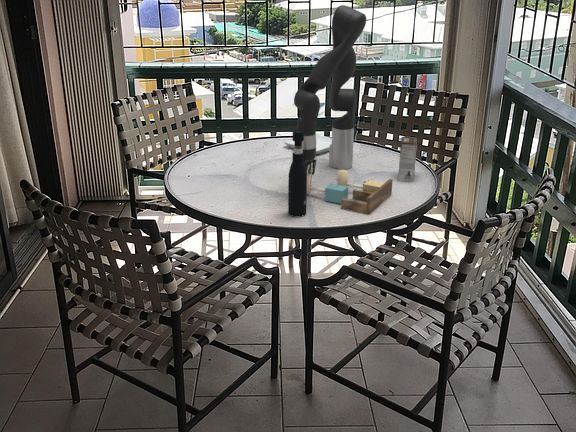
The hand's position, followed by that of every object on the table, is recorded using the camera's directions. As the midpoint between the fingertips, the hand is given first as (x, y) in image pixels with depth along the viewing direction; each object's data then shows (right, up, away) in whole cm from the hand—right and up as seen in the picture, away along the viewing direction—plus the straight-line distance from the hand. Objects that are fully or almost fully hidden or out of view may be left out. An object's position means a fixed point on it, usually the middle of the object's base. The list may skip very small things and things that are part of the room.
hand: (305, 188), depth 237 cm
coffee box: (+42, +5, +19) cm, 46 cm away
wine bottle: (-3, -10, -16) cm, 19 cm away
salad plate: (+6, +21, +56) cm, 60 cm away
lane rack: (+23, -5, -5) cm, 24 cm away
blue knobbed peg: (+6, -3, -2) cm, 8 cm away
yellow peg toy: (+21, -2, +1) cm, 21 cm away
